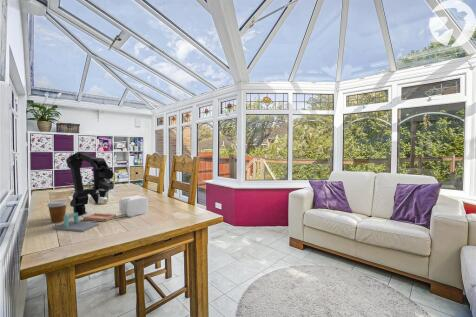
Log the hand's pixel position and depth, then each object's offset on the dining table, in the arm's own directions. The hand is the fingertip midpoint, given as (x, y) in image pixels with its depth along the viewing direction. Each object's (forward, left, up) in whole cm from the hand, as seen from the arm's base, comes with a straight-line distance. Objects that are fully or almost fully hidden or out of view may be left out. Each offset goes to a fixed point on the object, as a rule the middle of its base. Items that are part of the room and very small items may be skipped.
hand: (99, 202), depth 147 cm
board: (-1, -16, -10) cm, 19 cm away
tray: (0, 0, -10) cm, 10 cm away
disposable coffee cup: (-21, -10, -11) cm, 26 cm away
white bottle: (0, -1, 0) cm, 1 cm away
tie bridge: (-4, -16, -9) cm, 19 cm away
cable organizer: (+15, +13, -11) cm, 23 cm away
